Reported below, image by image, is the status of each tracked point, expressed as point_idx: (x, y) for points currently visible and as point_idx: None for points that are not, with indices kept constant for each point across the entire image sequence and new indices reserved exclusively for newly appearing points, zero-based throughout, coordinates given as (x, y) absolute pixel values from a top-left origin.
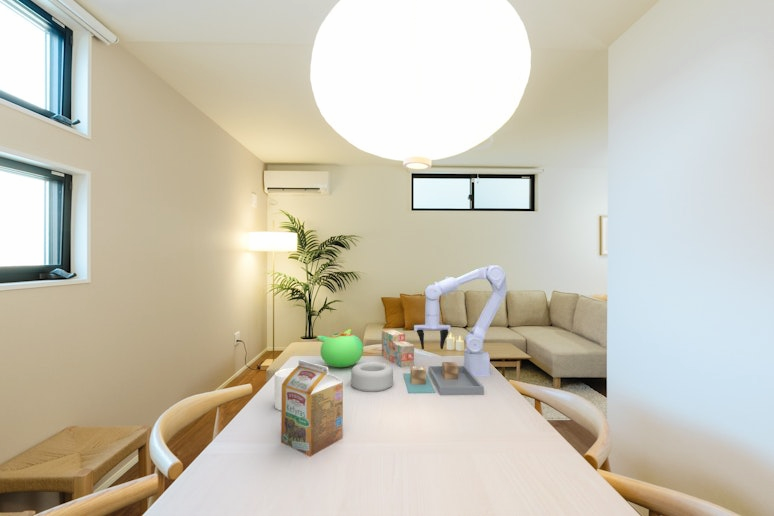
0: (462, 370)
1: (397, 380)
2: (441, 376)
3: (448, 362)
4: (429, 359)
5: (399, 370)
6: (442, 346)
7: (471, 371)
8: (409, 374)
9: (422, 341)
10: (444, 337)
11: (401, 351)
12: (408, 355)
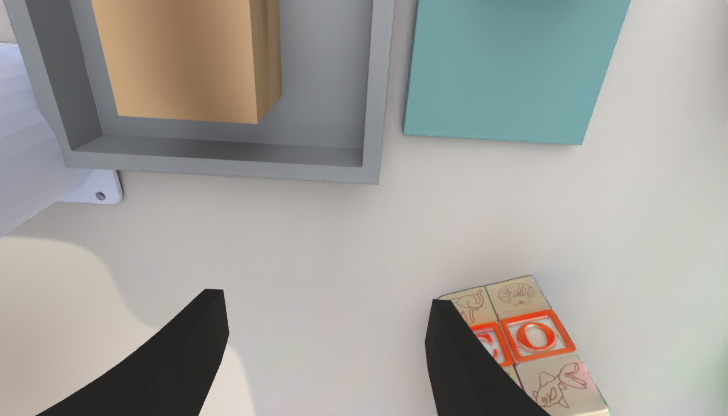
0: (101, 139)
1: (668, 23)
2: (294, 57)
3: (191, 103)
4: (308, 402)
5: (555, 242)
6: (196, 305)
7: (10, 70)
8: (545, 112)
9: (482, 365)
10: (93, 401)
11: (585, 368)
12: (500, 352)
